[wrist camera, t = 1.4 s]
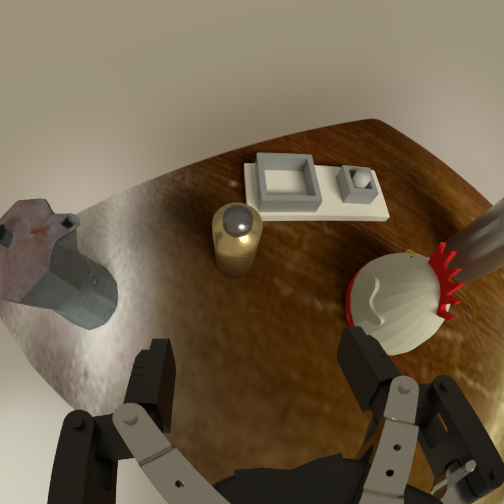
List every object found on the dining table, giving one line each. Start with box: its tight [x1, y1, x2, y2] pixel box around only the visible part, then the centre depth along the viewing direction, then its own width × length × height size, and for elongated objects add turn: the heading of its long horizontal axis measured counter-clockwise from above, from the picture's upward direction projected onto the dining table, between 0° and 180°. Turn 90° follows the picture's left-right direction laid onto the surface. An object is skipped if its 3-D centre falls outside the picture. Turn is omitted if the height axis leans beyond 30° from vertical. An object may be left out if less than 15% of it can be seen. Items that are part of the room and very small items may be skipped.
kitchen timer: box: [345, 242, 465, 356], centre depth 28 cm, size 14×14×15 cm
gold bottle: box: [212, 203, 263, 278], centre depth 30 cm, size 5×5×11 cm
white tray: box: [244, 153, 389, 221], centre depth 37 cm, size 22×9×6 cm, turn 94°
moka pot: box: [0, 199, 118, 330], centre depth 22 cm, size 10×15×20 cm, turn 118°
